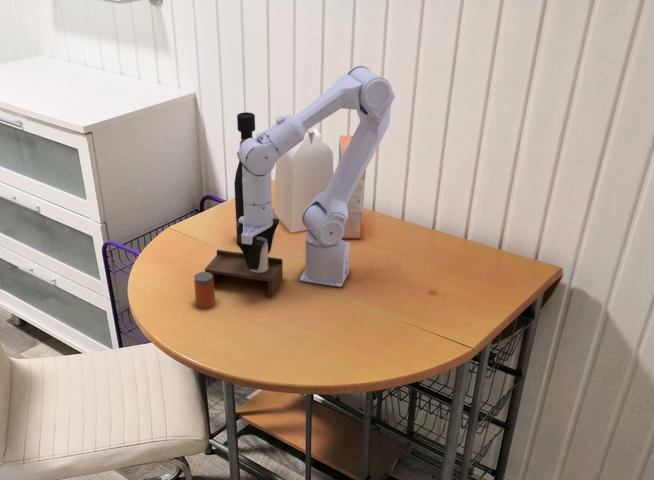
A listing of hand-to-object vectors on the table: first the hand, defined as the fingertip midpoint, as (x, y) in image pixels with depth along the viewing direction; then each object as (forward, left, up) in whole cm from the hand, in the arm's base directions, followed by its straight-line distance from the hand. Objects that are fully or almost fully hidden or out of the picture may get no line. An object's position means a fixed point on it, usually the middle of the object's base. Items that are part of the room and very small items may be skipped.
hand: (259, 260), depth 156 cm
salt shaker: (0, 0, -2) cm, 2 cm away
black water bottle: (+10, -20, -7) cm, 24 cm away
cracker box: (-11, -34, -7) cm, 37 cm away
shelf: (+4, 0, -6) cm, 7 cm away
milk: (+1, -35, -7) cm, 36 cm away
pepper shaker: (+9, +10, -6) cm, 15 cm away
